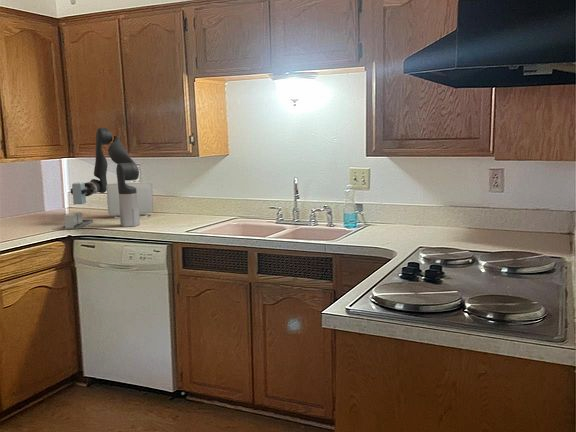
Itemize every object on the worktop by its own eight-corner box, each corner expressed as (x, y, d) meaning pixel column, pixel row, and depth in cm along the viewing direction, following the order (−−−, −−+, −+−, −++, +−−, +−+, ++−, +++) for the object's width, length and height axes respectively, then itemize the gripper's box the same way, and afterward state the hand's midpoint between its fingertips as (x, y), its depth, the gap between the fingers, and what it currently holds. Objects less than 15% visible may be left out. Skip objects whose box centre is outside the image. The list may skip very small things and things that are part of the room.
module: (77, 203, 321) (76, 182, 320) (86, 202, 321) (84, 182, 320) (73, 204, 316) (72, 183, 314) (82, 204, 315) (80, 183, 314)
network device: (108, 219, 335) (106, 184, 332) (108, 217, 344) (106, 183, 341) (154, 216, 343) (152, 182, 340) (152, 214, 351) (150, 181, 348)
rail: (79, 222, 325) (78, 209, 324) (92, 222, 325) (92, 208, 324) (62, 229, 302) (61, 215, 301) (77, 229, 302) (76, 214, 301)
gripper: (75, 182, 331) (63, 185, 314) (100, 182, 331) (89, 185, 314) (76, 195, 332) (64, 199, 315) (101, 195, 332) (90, 198, 315)
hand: (77, 192), depth 315 cm, fingers closed on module, 4 cm apart
